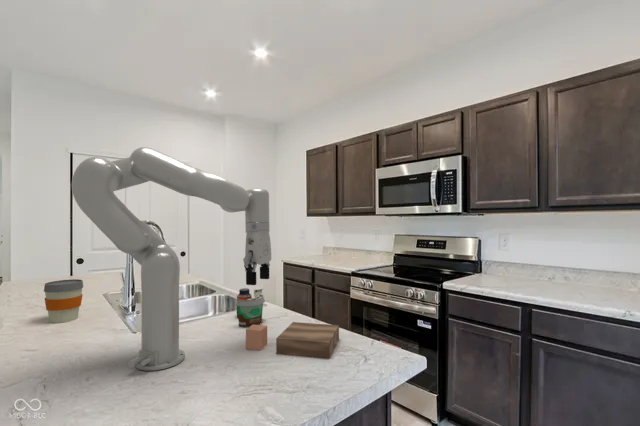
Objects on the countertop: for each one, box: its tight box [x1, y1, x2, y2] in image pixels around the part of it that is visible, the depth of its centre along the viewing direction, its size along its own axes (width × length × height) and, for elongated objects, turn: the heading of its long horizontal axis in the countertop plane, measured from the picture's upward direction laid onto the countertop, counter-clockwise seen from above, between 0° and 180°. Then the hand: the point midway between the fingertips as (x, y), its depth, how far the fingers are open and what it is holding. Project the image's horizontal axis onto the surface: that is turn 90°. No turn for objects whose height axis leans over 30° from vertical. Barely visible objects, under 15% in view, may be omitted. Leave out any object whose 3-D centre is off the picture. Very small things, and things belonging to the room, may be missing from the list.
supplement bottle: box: [236, 287, 253, 318], centre depth 135 cm, size 6×6×11 cm
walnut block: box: [275, 321, 340, 360], centre depth 104 cm, size 16×16×5 cm
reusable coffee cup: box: [43, 278, 84, 324], centre depth 132 cm, size 13×13×15 cm
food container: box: [235, 294, 266, 328], centre depth 125 cm, size 12×6×10 cm, turn 143°
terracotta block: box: [245, 324, 268, 351], centre depth 104 cm, size 5×5×6 cm
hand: (258, 281), depth 105 cm, fingers open, 9 cm apart
